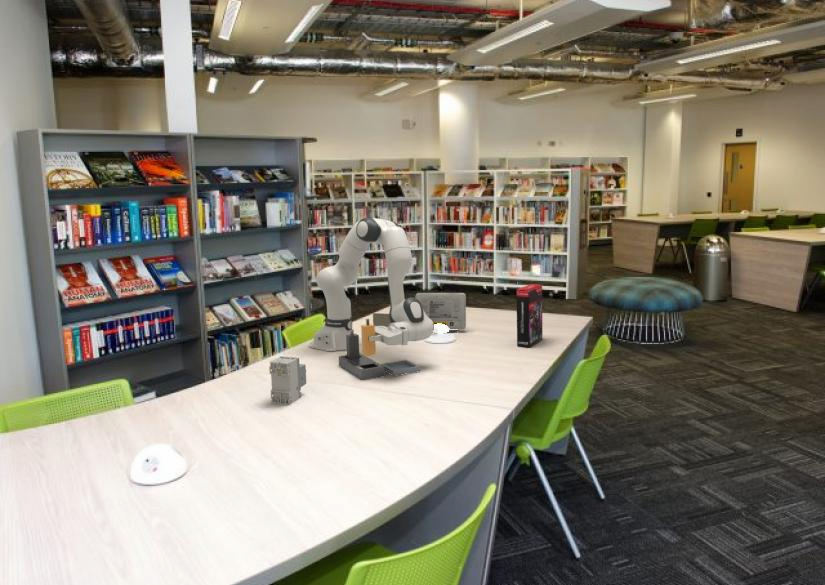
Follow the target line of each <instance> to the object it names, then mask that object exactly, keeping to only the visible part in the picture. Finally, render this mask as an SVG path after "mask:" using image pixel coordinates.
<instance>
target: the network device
mask: <svg viewBox="0 0 825 585" xmlns="http://www.w3.org/2000/svg"><path fill="white" fill-rule="evenodd" d="M466 295H467V294H466V293H464V292H417V293H416V295H415V297H414V298H416V299H418V300H419V301H420V302H421V304H422V306H423V310H424V312H425V314H426V315H427V317H428V318H430V319H431V320H432V322H433V325H434V324H437V323H442V324H445V325H447V326H448V327H449V328H450V329H458V330H457V331H456V332H457V333H458V332H459V333H460V330H465V329H466V328H467V327H466V326H467V296H466Z"/></svg>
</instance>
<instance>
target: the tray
mask: <svg viewBox="0 0 825 585" xmlns="http://www.w3.org/2000/svg"><path fill="white" fill-rule="evenodd" d="M380 364H381V365H382V366H384V367H385V371H387V372H388V373H387V372H386V373H387V374H389V373H390V374H392V375H393V376H392V375H391V376H392V377H396V376H395V375H399V376H402V375H401V374H404V375H406V374H405V373H410V374H413V373H412V372H415V373H418V372H417V371H420V372H421V366H420V365H418V364H416V363H414V362H411V361H410V360H407V359H402V360H396V361H390V362H384V363H380ZM390 374H389V375H390Z"/></svg>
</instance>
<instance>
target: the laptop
mask: <svg viewBox="0 0 825 585" xmlns="http://www.w3.org/2000/svg"><path fill="white" fill-rule="evenodd" d="M372 324H373V325H375V326H385V327H387V328H388V327H389V326H390V324H391V321H390V319H389V313H381V312H379V313H378V312H373V313H372Z"/></svg>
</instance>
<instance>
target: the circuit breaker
mask: <svg viewBox="0 0 825 585" xmlns="http://www.w3.org/2000/svg"><path fill="white" fill-rule="evenodd" d="M268 368H269V374H270V378H271V389H270V399H271V404H279V405H289V406H290V405H291V404H293V403H295V402H297V401H298V400H300V399H301V398H302V392H301V390H302V388H303V387H304V386H305V385H307V366H306V364H304V363H300V358H299V357H293V356H284V355H283V356H282V355H281V356H279V357H276V358H274V359H272V360H270V361H269V367H268Z"/></svg>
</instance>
